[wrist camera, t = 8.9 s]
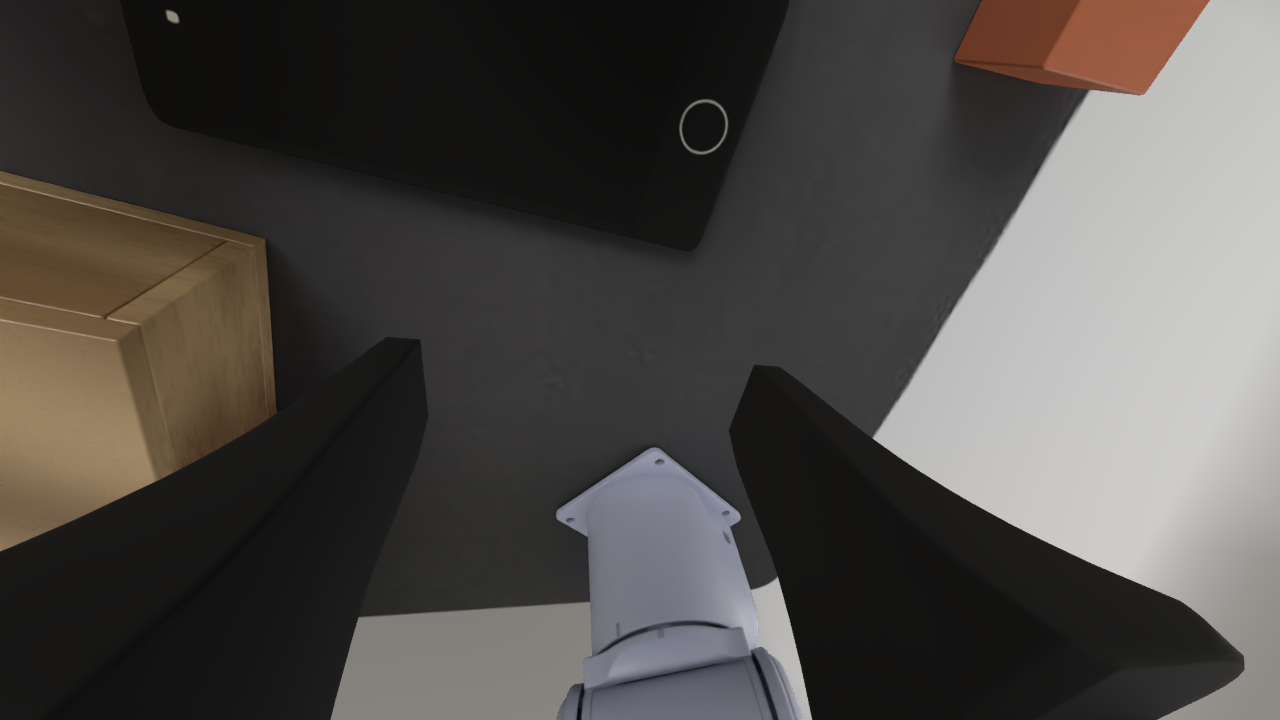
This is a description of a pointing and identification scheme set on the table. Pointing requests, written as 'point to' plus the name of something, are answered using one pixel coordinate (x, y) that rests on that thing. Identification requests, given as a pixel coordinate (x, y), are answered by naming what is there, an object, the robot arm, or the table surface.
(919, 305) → the table surface
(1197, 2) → the block
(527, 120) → the cell phone
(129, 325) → the cabinet
